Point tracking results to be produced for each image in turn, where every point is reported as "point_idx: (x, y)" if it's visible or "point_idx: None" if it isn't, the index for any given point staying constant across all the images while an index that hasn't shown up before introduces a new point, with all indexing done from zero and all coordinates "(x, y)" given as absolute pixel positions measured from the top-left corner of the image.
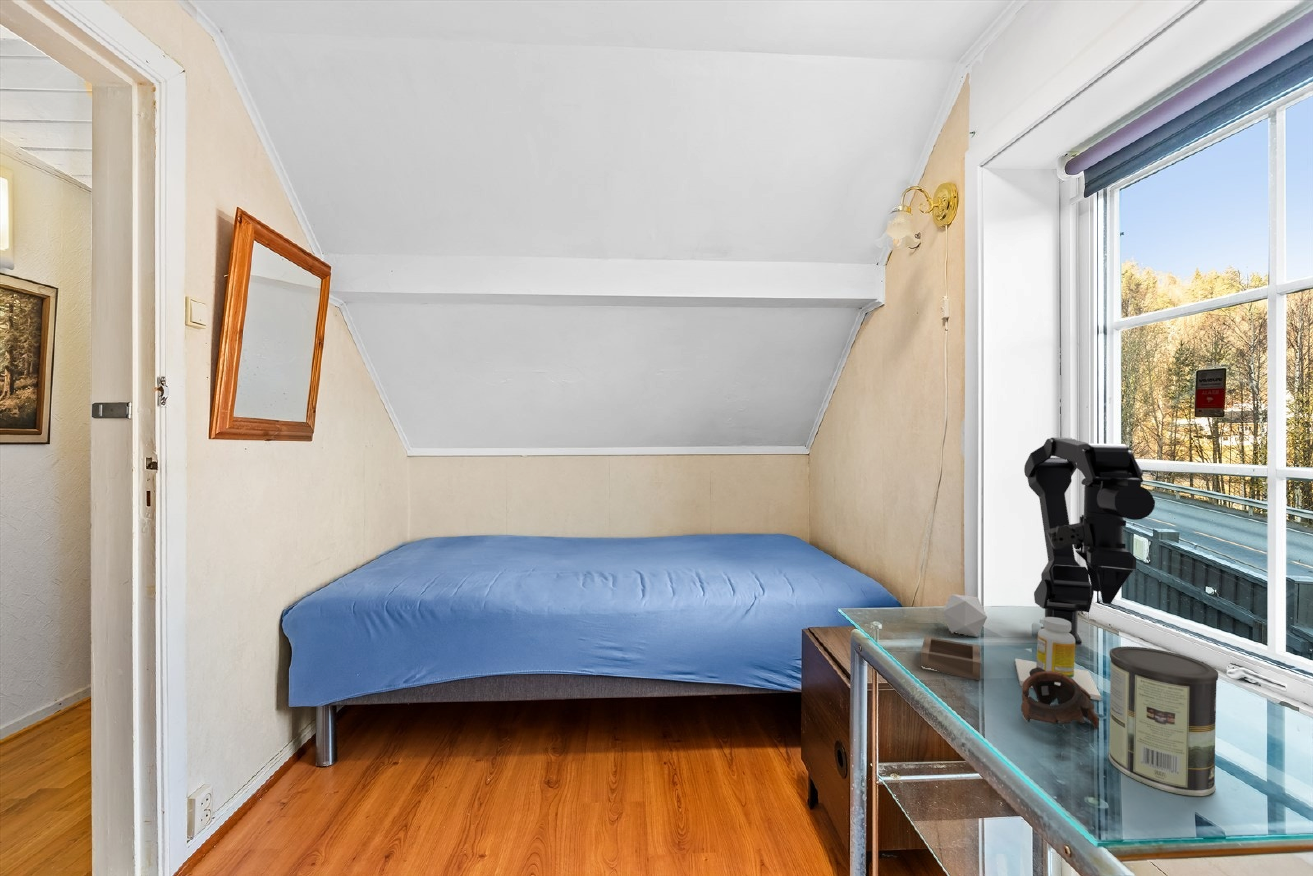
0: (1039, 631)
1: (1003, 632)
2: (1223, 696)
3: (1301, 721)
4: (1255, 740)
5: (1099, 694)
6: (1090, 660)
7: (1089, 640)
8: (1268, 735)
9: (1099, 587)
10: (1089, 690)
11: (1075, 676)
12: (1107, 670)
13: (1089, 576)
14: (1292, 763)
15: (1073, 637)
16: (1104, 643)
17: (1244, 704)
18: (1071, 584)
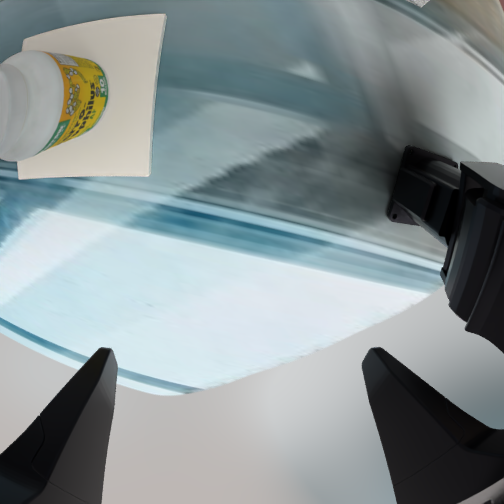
0: (12, 56)
1: (419, 61)
2: (178, 357)
3: (139, 389)
4: (37, 330)
5: (23, 177)
6: (279, 205)
7: (412, 240)
8: (63, 348)
9: (368, 379)
10: (30, 162)
11: (93, 141)
12: (218, 225)
13: (420, 389)
14: (9, 333)
15: (2, 158)
16: (399, 263)
17: (159, 366)
18: (488, 279)
